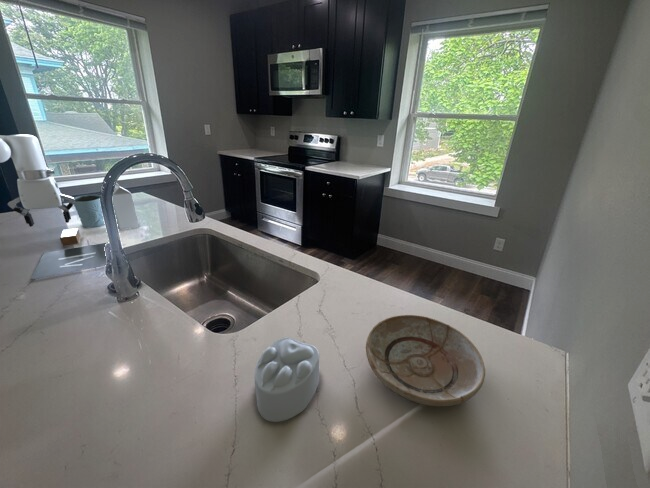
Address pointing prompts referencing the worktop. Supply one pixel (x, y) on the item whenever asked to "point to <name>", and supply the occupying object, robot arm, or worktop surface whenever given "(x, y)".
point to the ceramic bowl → (425, 360)
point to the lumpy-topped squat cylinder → (286, 379)
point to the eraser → (70, 237)
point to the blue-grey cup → (89, 210)
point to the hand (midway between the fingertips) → (50, 223)
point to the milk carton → (124, 208)
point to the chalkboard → (70, 260)
